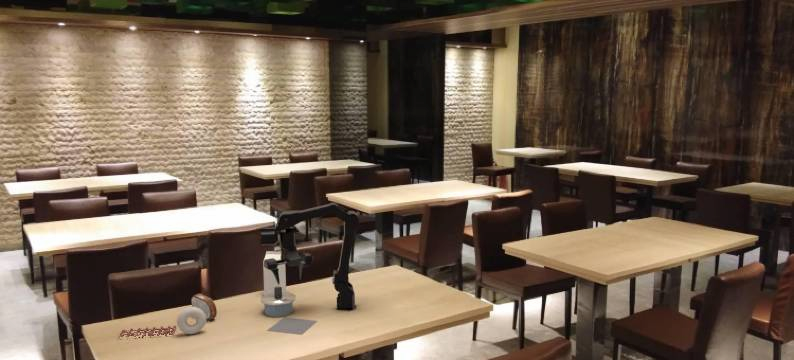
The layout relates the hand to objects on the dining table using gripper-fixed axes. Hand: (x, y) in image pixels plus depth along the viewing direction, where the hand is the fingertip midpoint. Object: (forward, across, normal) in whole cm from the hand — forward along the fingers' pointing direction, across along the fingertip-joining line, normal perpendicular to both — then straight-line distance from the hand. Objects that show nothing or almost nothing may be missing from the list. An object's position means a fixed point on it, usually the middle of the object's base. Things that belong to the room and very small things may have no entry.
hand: (289, 282), depth 243 cm
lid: (+6, -5, +1) cm, 8 cm away
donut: (+12, -39, -5) cm, 41 cm away
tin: (+12, -32, +11) cm, 36 cm away
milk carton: (+12, +1, +24) cm, 26 cm away
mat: (+12, -5, -16) cm, 21 cm away
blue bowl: (+12, -5, +1) cm, 13 cm away
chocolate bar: (+12, -53, +3) cm, 55 cm away
